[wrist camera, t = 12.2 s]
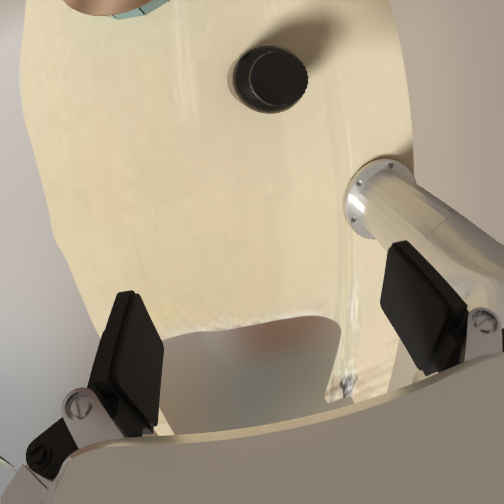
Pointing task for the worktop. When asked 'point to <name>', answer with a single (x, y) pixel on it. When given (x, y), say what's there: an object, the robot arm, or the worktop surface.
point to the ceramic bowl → (140, 10)
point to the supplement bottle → (268, 79)
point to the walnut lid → (105, 6)
